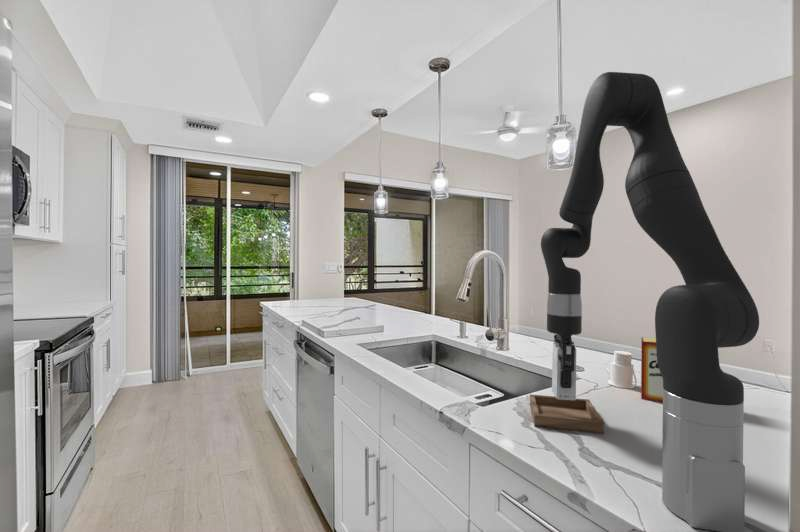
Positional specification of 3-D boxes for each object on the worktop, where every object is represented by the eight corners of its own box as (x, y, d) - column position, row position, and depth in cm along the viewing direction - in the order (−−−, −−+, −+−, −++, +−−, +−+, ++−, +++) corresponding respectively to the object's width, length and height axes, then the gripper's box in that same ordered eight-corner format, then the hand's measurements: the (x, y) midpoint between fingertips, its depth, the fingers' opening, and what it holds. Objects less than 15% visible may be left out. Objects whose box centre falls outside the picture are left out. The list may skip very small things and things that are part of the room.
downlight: (601, 383, 114) (603, 351, 114) (612, 379, 118) (613, 348, 118) (630, 391, 108) (632, 357, 107) (640, 387, 112) (642, 354, 112)
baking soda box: (682, 398, 102) (682, 339, 102) (685, 406, 96) (685, 344, 96) (641, 392, 107) (641, 336, 107) (641, 398, 101) (641, 339, 101)
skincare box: (576, 401, 85) (577, 348, 85) (556, 399, 86) (557, 347, 86) (569, 392, 91) (570, 343, 91) (551, 390, 92) (551, 342, 92)
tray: (603, 434, 80) (604, 422, 80) (534, 426, 84) (534, 415, 84) (588, 409, 94) (589, 399, 93) (529, 403, 97) (529, 394, 97)
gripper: (588, 317, 81) (587, 395, 81) (575, 309, 94) (574, 375, 95) (551, 316, 82) (550, 391, 83) (543, 308, 96) (543, 373, 96)
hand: (563, 383), depth 89 cm, fingers closed on skincare box, 6 cm apart
